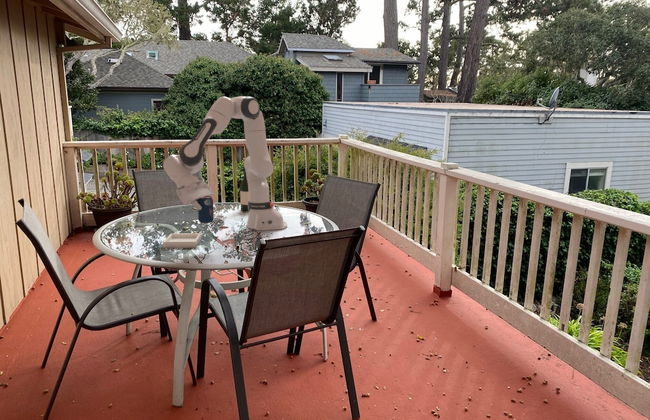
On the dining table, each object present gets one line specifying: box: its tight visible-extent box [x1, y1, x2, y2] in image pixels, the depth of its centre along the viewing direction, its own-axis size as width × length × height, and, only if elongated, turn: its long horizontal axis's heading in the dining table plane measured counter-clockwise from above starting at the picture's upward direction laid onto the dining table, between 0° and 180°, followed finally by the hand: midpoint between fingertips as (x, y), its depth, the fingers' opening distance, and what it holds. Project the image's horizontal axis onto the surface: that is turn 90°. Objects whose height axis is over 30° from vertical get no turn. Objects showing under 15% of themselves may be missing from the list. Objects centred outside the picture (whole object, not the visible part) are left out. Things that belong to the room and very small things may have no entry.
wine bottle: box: [239, 166, 249, 212], centre depth 310 cm, size 8×8×30 cm
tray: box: [162, 232, 203, 249], centre depth 240 cm, size 15×15×3 cm
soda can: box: [197, 196, 215, 224], centre depth 230 cm, size 7×7×12 cm
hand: (206, 207), depth 230 cm, fingers closed on soda can, 7 cm apart
